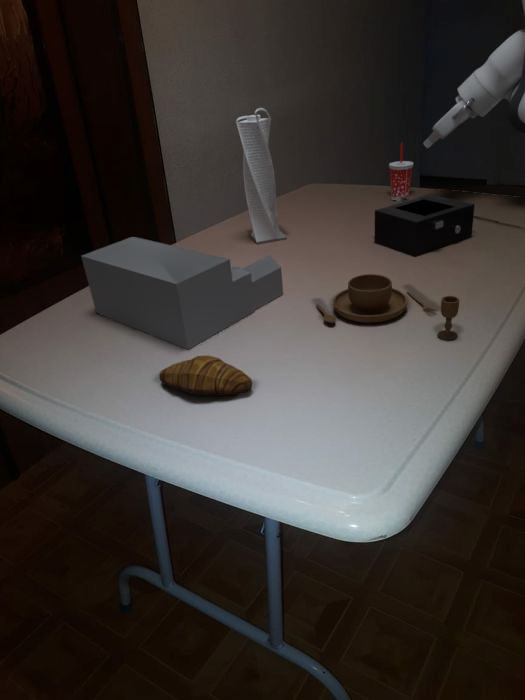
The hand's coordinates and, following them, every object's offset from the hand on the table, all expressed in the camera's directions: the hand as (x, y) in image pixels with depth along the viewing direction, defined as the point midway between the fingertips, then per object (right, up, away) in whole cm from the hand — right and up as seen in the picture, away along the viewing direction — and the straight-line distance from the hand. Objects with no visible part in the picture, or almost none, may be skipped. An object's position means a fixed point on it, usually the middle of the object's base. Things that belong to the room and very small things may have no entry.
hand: (430, 141), depth 136 cm
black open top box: (-7, -28, -18) cm, 34 cm away
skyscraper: (-40, -25, -8) cm, 48 cm away
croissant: (-49, -56, -61) cm, 96 cm away
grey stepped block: (-54, -43, -36) cm, 78 cm away
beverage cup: (-5, -11, +10) cm, 16 cm away
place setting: (-22, -46, -48) cm, 70 cm away
